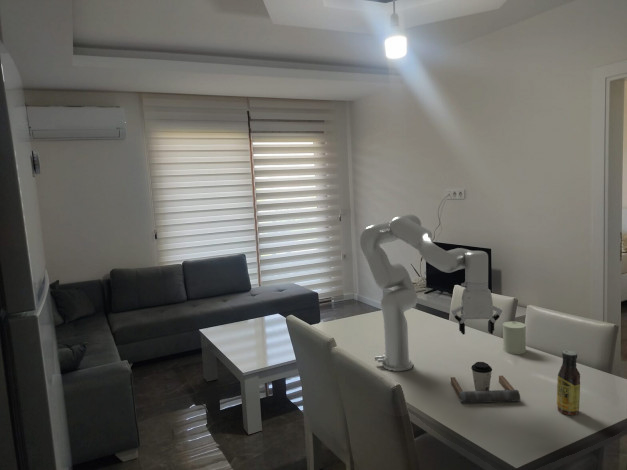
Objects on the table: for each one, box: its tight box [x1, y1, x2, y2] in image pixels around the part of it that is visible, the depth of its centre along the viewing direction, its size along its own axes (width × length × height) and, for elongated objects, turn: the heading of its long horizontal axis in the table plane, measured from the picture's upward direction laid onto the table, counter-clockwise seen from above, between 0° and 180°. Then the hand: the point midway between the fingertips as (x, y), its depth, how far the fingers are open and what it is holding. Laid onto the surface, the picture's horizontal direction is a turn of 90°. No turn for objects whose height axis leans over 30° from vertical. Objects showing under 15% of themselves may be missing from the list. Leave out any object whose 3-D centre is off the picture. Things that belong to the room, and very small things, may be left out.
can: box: [502, 320, 527, 355], centre depth 191 cm, size 9×9×12 cm
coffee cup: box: [470, 361, 493, 391], centre depth 156 cm, size 7×7×10 cm
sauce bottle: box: [556, 349, 581, 416], centre depth 139 cm, size 7×6×20 cm
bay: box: [450, 375, 521, 404], centre depth 155 cm, size 19×16×4 cm
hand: (476, 332), depth 156 cm, fingers open, 9 cm apart
